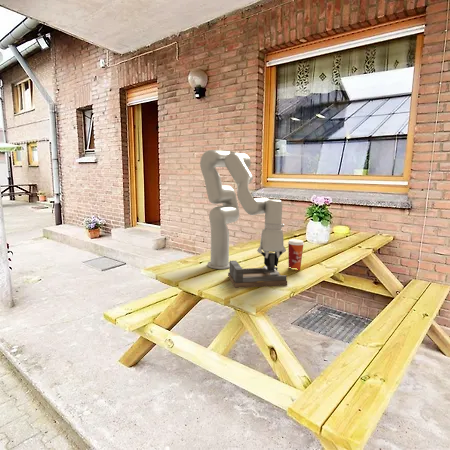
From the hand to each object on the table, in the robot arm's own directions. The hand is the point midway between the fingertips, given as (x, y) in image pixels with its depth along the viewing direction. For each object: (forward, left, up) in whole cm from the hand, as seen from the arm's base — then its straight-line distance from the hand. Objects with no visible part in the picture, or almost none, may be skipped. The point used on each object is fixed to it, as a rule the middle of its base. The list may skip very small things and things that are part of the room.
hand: (271, 265), depth 155 cm
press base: (0, -7, -7) cm, 10 cm away
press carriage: (0, 0, -5) cm, 5 cm away
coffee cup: (-15, +18, -7) cm, 25 cm away
